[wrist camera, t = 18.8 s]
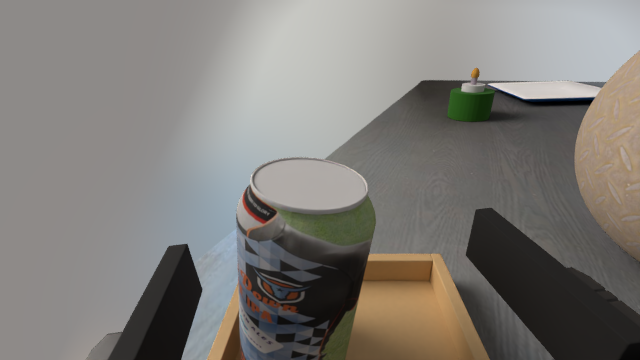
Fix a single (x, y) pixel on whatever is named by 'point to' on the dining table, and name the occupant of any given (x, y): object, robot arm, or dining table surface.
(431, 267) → the wooden serving tray
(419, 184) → the dining table surface
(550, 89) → the plate
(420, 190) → the dining table surface
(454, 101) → the candle
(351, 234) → the beverage can
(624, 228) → the decorative sphere
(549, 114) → the dining table surface
